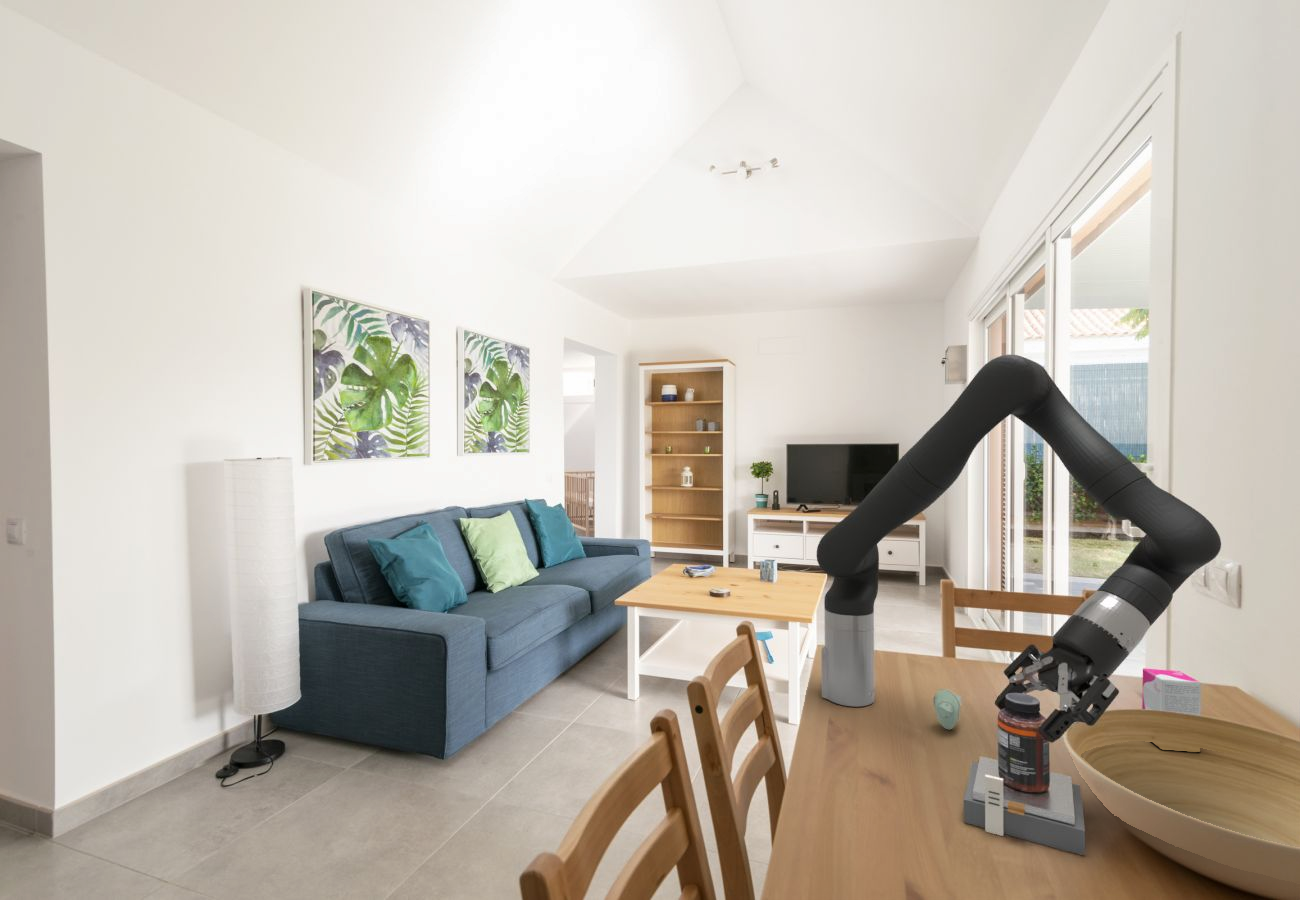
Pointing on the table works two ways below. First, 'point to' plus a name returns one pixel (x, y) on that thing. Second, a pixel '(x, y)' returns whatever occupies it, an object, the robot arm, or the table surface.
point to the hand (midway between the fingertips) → (1021, 722)
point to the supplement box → (1171, 692)
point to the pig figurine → (947, 708)
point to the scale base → (1022, 817)
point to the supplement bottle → (1022, 744)
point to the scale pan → (1030, 795)
